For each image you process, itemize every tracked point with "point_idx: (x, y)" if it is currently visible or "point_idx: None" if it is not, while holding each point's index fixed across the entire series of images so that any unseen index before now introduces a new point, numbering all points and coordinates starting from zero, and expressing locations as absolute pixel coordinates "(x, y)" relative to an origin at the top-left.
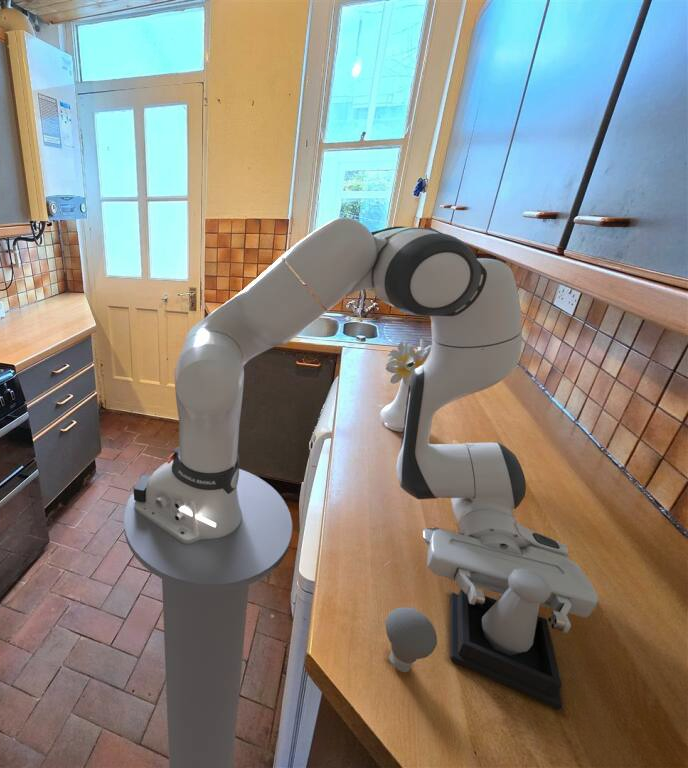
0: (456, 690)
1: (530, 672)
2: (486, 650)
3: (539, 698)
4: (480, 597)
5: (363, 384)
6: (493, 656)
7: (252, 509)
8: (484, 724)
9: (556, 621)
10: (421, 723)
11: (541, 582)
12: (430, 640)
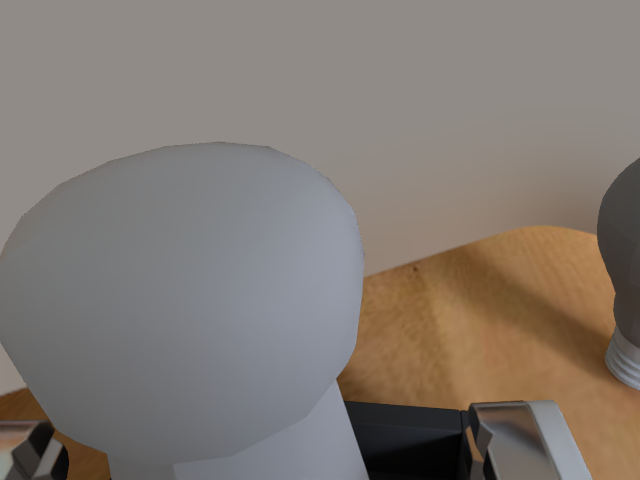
0: (461, 369)
1: None
2: (395, 417)
3: None
4: (503, 406)
5: None
6: (371, 403)
7: None
8: (391, 320)
9: (44, 421)
10: (526, 273)
11: (103, 177)
12: (634, 162)
